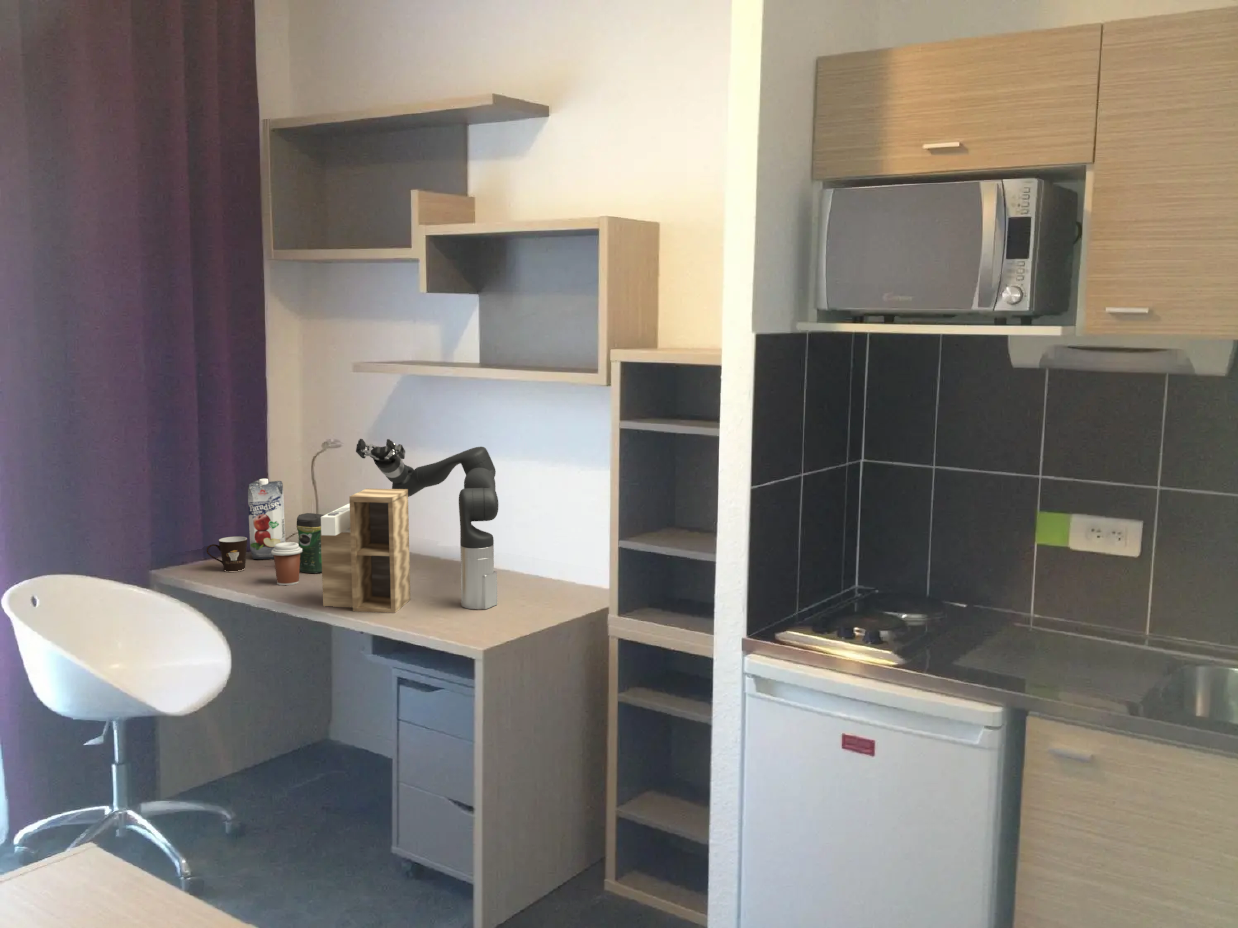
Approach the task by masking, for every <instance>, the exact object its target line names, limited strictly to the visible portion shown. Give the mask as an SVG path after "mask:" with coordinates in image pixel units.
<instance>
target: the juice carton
mask: <svg viewBox="0 0 1238 928" xmlns="http://www.w3.org/2000/svg"><path fill="white" fill-rule="evenodd" d="M284 497H285V495H284V484H283V481H282V480H271V481H269V479H268V478H260V479H258V480H254V481H253V482H250V483H249V484H248V485H247V506H248V508H247V509H248V525H249V526H248V527H249V548H250V553H251V557H252V560H254V559H274V555H273V554H271V551H272V550H273V549H274V548H275V544H278V543H284V542H286V523H285V522H286V521H285V498H284Z"/></svg>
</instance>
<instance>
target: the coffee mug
mask: <svg viewBox="0 0 1238 928" xmlns="http://www.w3.org/2000/svg"><path fill="white" fill-rule="evenodd" d="M218 543H219V545H218V544H215V543H212V544H209V545H208V546H207V547H206V553H207V554H208V555H207V556H209V557H211V558H212V559H213V560H216V561H218V562H219V563H221V564H222V567H223V571H224V570H226V571H238V570H242V569H244V568H245V569H246V561H247V549H248V547H247V546H248V538H247V537H245V536H228V537H222V538H219V539H218ZM211 547H216V548H217V549H218V550H219V552H220V556H221V559H220V558H217V557H215V556H213V555H212V554H211V553H210V552H209V549H210V548H211Z"/></svg>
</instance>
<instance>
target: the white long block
mask: <svg viewBox="0 0 1238 928" xmlns="http://www.w3.org/2000/svg"><path fill="white" fill-rule="evenodd" d="M323 515H324V516H322V517H321V535H334V536H336V535H338V534H339V533H341V532H343V531H345V530H347V529H349V528H350V502H349V503H347V504H345V505H343V506H341V507H339V508H337V509H334V510H333V511H331V512H328V513H326V514H323Z"/></svg>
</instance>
